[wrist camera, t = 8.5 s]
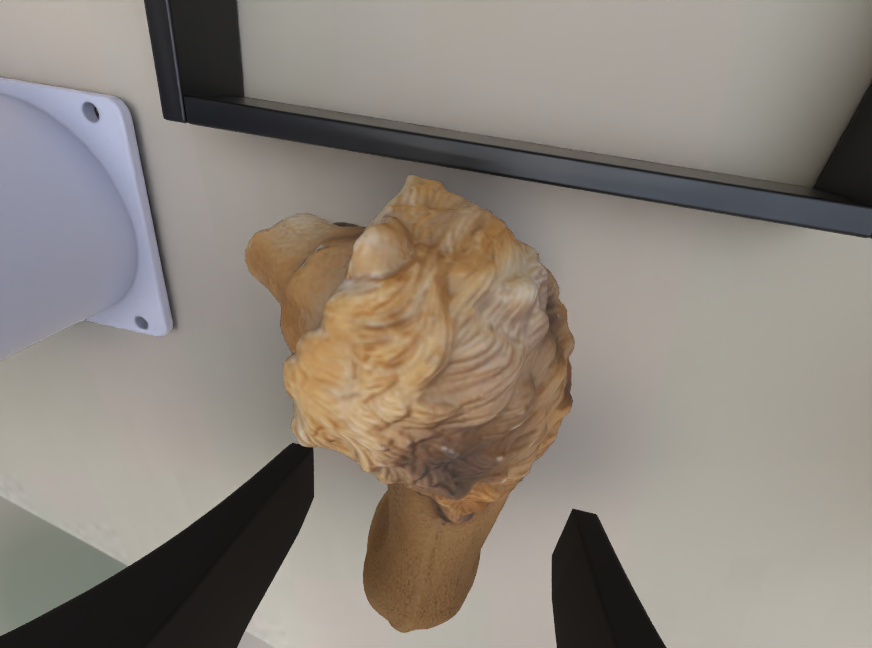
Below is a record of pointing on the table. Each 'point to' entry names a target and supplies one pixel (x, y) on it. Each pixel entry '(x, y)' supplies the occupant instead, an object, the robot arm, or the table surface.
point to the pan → (703, 190)
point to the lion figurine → (421, 376)
